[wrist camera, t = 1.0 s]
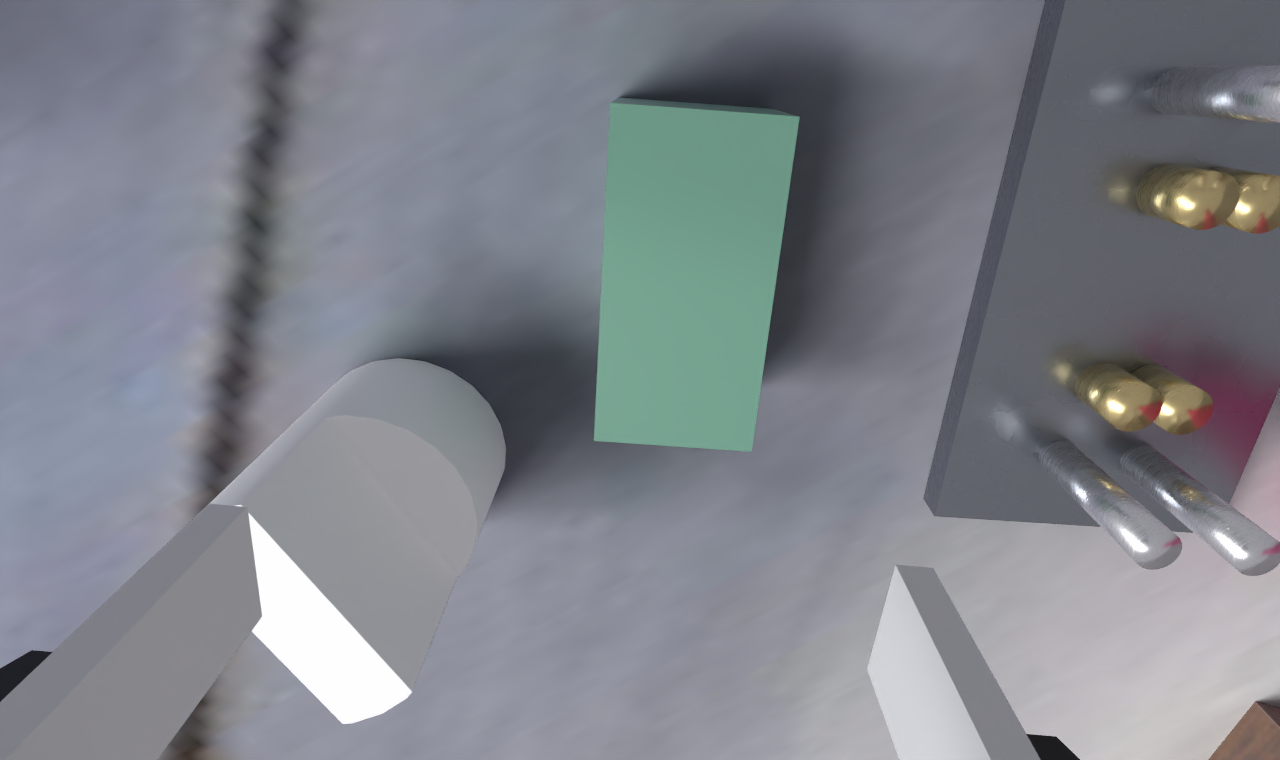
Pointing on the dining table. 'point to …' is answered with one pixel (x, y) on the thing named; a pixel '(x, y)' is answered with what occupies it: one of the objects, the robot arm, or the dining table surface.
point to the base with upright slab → (369, 527)
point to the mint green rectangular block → (689, 270)
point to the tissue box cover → (1253, 736)
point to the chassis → (1128, 284)
